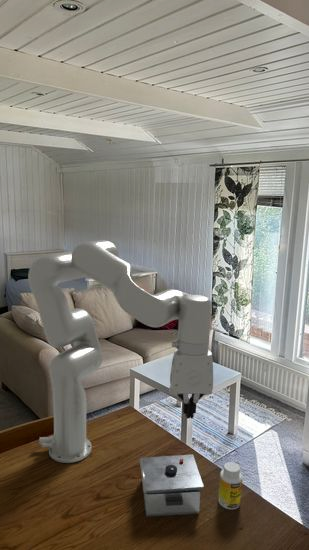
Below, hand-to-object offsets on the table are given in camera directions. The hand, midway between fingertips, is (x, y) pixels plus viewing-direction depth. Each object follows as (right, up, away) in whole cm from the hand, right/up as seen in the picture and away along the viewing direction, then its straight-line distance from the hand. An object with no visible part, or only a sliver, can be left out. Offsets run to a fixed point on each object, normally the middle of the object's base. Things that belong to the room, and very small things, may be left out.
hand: (189, 415), depth 103 cm
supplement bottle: (+10, -23, +2) cm, 25 cm away
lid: (-5, -16, +2) cm, 17 cm away
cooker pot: (-5, -22, +3) cm, 23 cm away
